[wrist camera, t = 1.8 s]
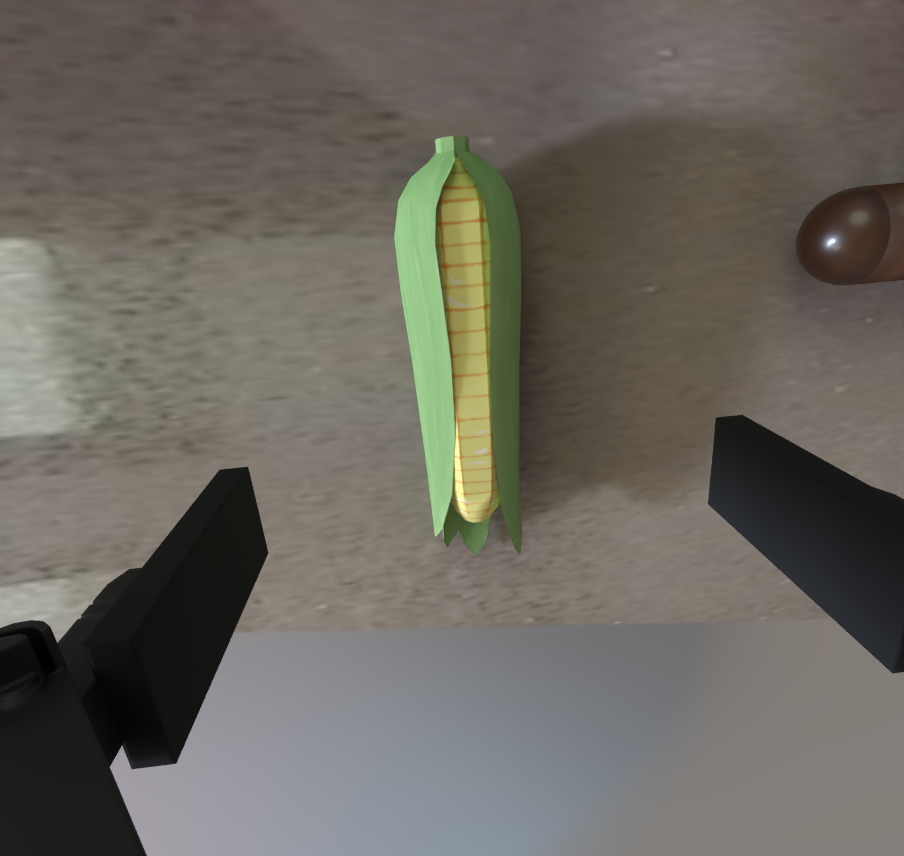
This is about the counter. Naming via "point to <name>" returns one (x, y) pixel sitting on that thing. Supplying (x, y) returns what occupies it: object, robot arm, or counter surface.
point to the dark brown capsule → (855, 236)
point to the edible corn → (464, 336)
